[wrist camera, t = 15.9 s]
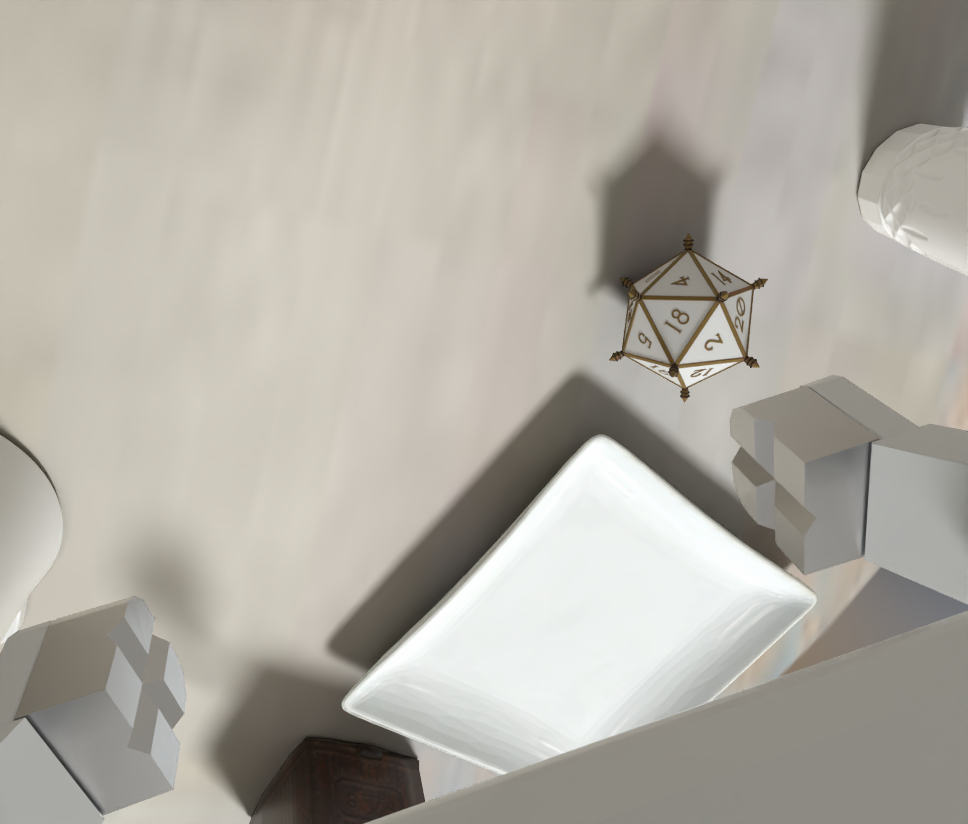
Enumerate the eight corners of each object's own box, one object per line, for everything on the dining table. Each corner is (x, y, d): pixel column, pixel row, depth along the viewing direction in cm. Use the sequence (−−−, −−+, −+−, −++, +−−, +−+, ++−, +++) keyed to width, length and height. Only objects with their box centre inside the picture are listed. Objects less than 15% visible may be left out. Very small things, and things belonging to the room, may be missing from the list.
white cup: (824, 197, 48) (943, 240, 39) (917, 85, 46) (1063, 105, 37) (893, 264, 51) (1016, 317, 43) (982, 163, 49) (1130, 197, 41)
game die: (624, 253, 51) (691, 183, 41) (735, 317, 51) (827, 263, 42) (566, 369, 49) (621, 325, 39) (682, 434, 49) (765, 406, 39)
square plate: (330, 672, 57) (334, 714, 54) (581, 403, 51) (602, 431, 48) (575, 778, 70) (590, 817, 66) (799, 571, 64) (828, 603, 60)
